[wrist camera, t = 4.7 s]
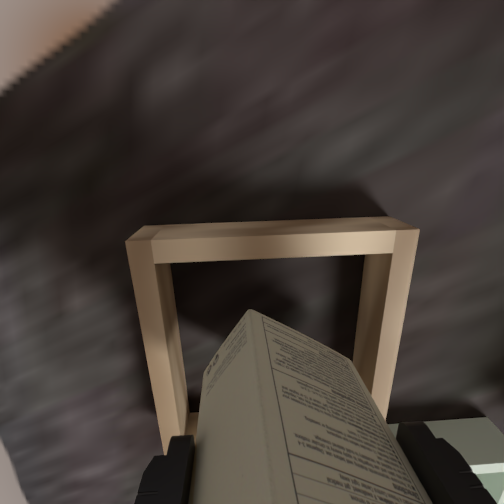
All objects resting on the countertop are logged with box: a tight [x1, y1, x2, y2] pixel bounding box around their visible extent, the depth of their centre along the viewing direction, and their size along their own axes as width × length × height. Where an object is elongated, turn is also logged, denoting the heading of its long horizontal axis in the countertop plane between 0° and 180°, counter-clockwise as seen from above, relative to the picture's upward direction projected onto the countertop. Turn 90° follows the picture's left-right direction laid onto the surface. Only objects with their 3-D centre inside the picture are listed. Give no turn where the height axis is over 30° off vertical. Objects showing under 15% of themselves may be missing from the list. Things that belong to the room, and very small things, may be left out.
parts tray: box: [388, 417, 504, 504], centre depth 19 cm, size 12×11×3 cm
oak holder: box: [125, 216, 420, 455], centre depth 15 cm, size 12×13×2 cm
